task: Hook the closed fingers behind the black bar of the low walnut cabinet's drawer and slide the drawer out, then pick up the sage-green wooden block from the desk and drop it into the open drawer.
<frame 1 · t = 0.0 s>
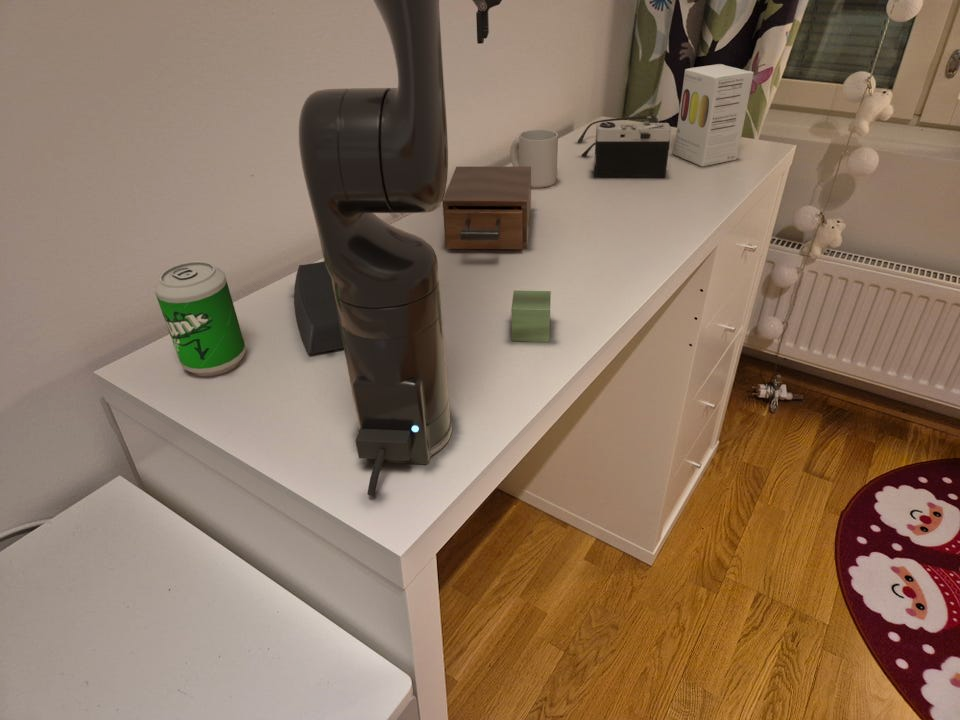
hand: (449, 43, 87), 29 cm above the table, tool pointing down, fingers open, 8 cm apart
drawer: (486, 219, 102), point 4 cm above the table, slide at 1.0 cm
sunglasses: (618, 149, 142), on the table
cabinet: (490, 228, 109), on the table
soda can: (216, 363, 79), on the table
cup: (531, 181, 128), on the table
supplement box: (704, 158, 135), on the table
camera: (629, 172, 130), on the table
block: (531, 331, 82), on the table
hard drive: (346, 312, 88), on the table
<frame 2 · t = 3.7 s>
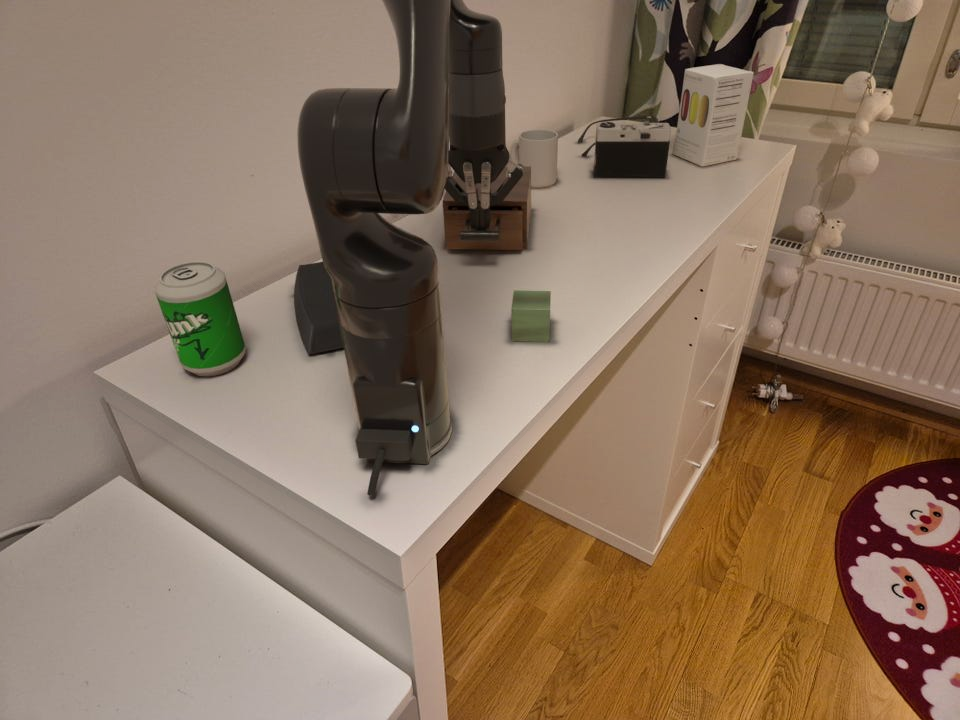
hand: (480, 230, 95), 5 cm above the table, tool pointing down, fingers closed
drawer: (486, 220, 102), point 4 cm above the table, slide at 1.3 cm, touching gripper
everything else where it was.
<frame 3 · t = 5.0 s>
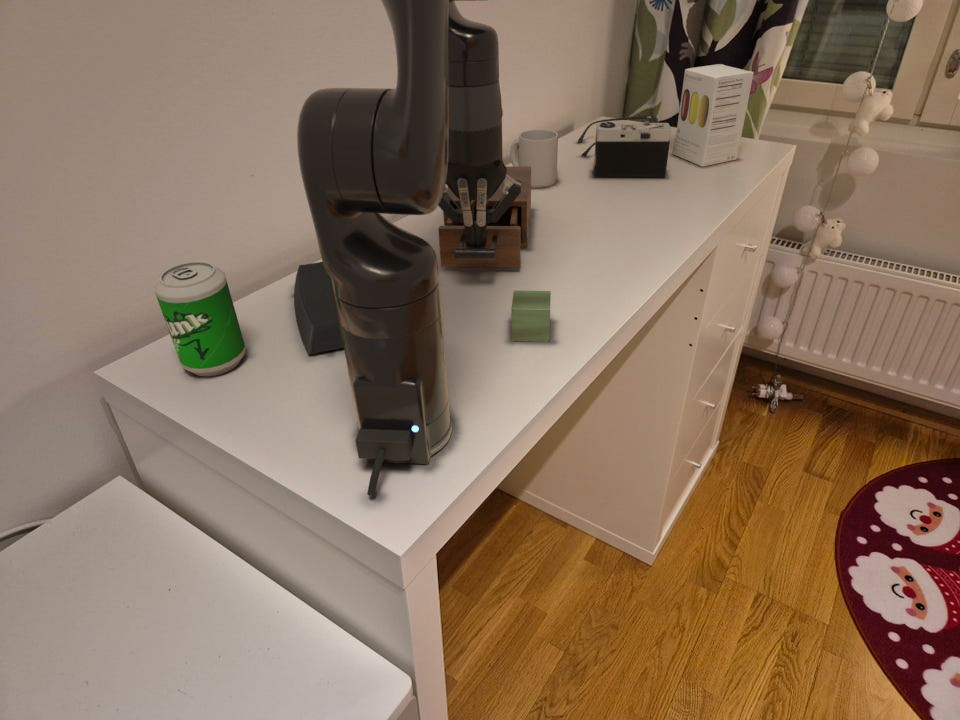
hand: (476, 248, 90), 5 cm above the table, tool pointing down, fingers closed
drawer: (482, 235, 97), point 4 cm above the table, slide at 7.1 cm, touching gripper
everything else where it was.
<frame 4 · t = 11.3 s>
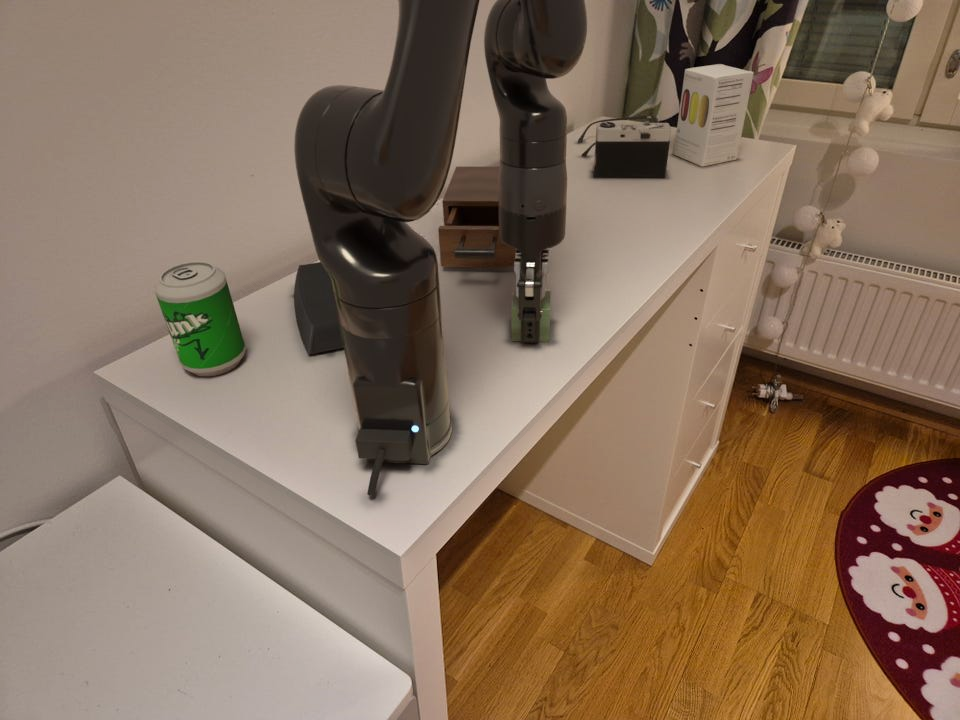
hand: (531, 329, 82), 0 cm above the table, tool pointing down, fingers closed on block, 4 cm apart
drawer: (482, 235, 97), point 4 cm above the table, slide at 7.1 cm
block: (531, 331, 82), on the table, touching gripper
everything else where it was.
when the fingers open (8 cm above the table, at t = 17.8 s): block stays where it is, resting on cabinet.
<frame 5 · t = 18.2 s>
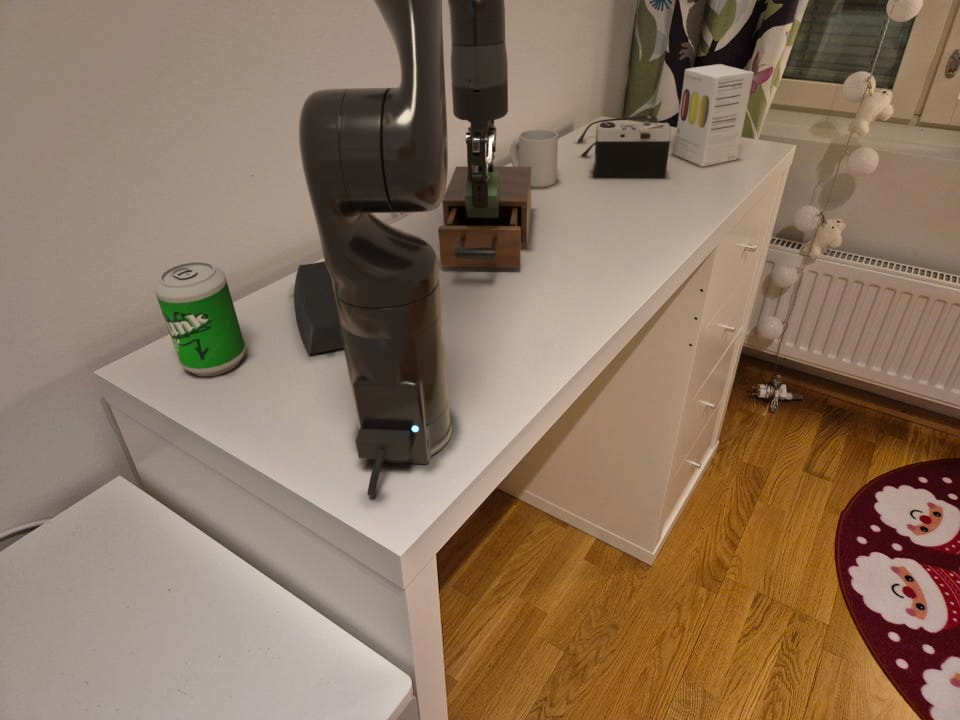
hand: (483, 196, 97), 9 cm above the table, tool pointing down, fingers open, 8 cm apart
block: (483, 206, 98), point 7 cm above the table, tilted 25°, touching cabinet, gripper
everything else where it was.
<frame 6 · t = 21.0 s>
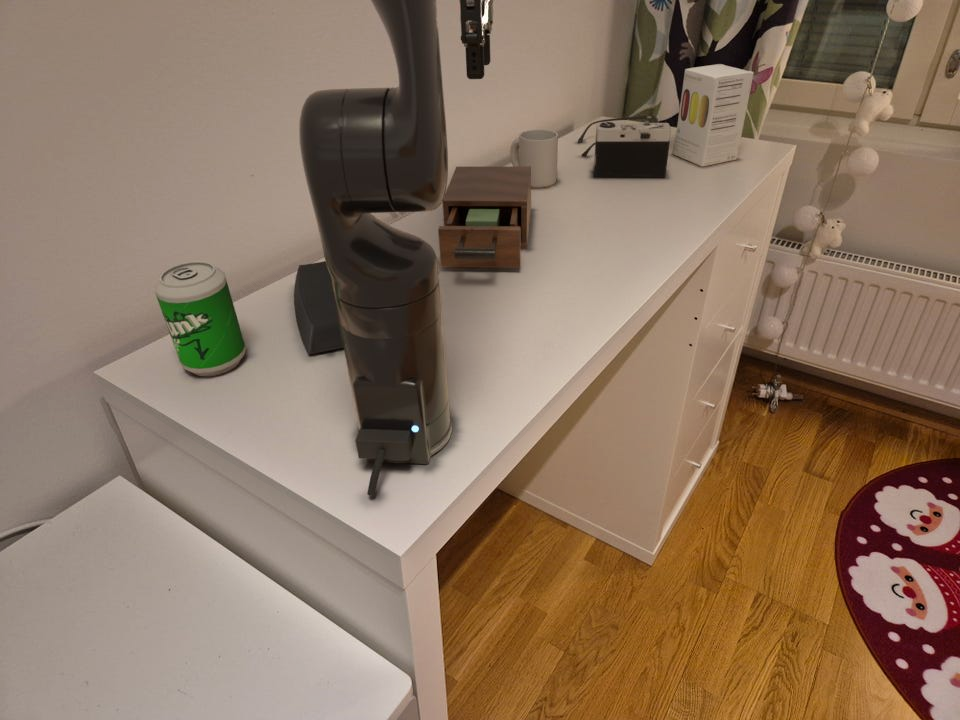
hand: (479, 71, 87), 26 cm above the table, tool pointing down, fingers open, 8 cm apart
drawer: (482, 235, 97), point 4 cm above the table, slide at 7.2 cm, touching block
block: (484, 223, 100), point 4 cm above the table, tilted 90°, touching drawer
everything else where it was.
at the end: drawer slide at 7.2 cm; block inside the target area in the drawer (1.9 cm from its centre), point 4.4 cm above the cabinet's base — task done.
